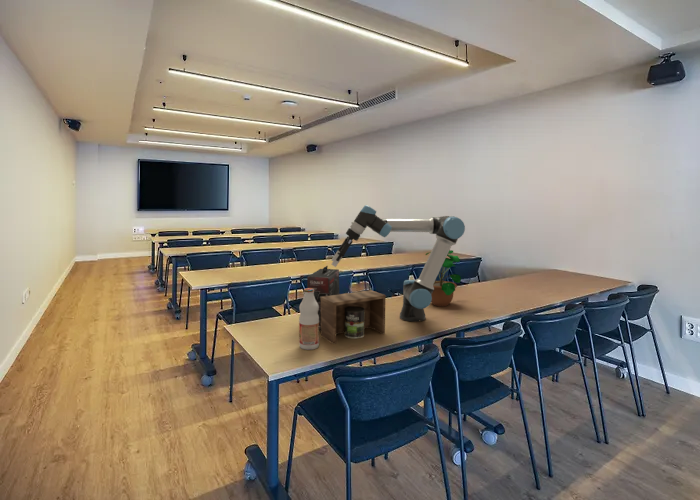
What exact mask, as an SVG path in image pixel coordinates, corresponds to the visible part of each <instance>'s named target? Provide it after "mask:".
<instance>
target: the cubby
mask: <svg viewBox="0 0 700 500" xmlns="http://www.w3.org/2000/svg"><path fill="white" fill-rule="evenodd" d="M350 306H358V307H362V308H364V309H365V311H364V329H368V328H370V329H372V330H374V331H377V332H378V333H380V334H382V335H383V334H385V333H386V294H384V293H380V292H377V291H374V290H372V289H370V290H362V291H354V292H347V293H339V294H338V295H331V296H323V297H321V331H320V336H321V337H322V338H323V339H325V340H327V341H328V342H330V343H331V344H333V345H334V344H337V333H338V334H342V333H345V308H346V307H350Z"/></svg>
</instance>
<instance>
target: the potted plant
mask: <svg viewBox="0 0 700 500" xmlns="http://www.w3.org/2000/svg"><path fill="white" fill-rule="evenodd" d="M430 253H431V251H429V252H427V253H425V256H427V255H428V254H429V255H430ZM453 253H454V250H451V249H450V250H449V252H448V254H447V256H446V259H445V261H444V263H443V265H442V267H441V270H440V271H439V274H438V277H439V280H435V282H434V284H433V287H434V290H433V293H432V295H431V296H432V300H431V304H432V305H434V306H435V307H436V306H437V307H447V306H448V305H450V304H451V303H452V301H453V298H454V292H455V291H456V288H457V287H458V285H457V284H459V283H461V282H462V277H461V275H459V274H456V273H453V274H450V275H449V274H448V275H447V276H445V275H446V273H447V272H448V271H449V269H450V268H452V267H454V268H455V267H456V265H455V264H454V263H459V262H460V261H461V258H460V257H459V256H458V255H453ZM444 277H445V278H444ZM447 277H449V278H450V279H451V280H452V281H453V282H452V281H446V280H445V279H447Z"/></svg>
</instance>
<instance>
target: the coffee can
mask: <svg viewBox="0 0 700 500" xmlns="http://www.w3.org/2000/svg"><path fill="white" fill-rule="evenodd" d="M364 311H365V309H364V308H362V307H358V306H350V307H346V308H345V332H344V337H346V338H347V339H360V338H361V339H362V338H364V336H365V328H364Z"/></svg>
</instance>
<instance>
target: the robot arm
mask: <svg viewBox="0 0 700 500" xmlns="http://www.w3.org/2000/svg"><path fill="white" fill-rule="evenodd" d="M361 208H362V209H360V211H359V213H358V214H357V216H356V217H355V219H354V221H352V222H351V225H350V226H349V227H350V228H348V229H347V231H346V232H345V235H347V236H346V237H345V239H344V241H343V242H342V244H341V245H340V246H339V247H338V250H337V251H336V252H335V254H334V255H333V257H332V259H331V261H332V262H331V265H332V266H333V267H335V268H337V266H338V264H339V263H340V262H341V260H342V258H343V257H345V254H346V253H347V252H348V250H349V248H350V246H351V245H352V244H353V240H354V241H355V242H357V241H358V240H359V238H361V235H363V233H364V232H365V230H366V228H367V227H368V228H370V229H371V230H372V231H373V232H375V233H377V234H378V235H379V236H381V237H383V238H386V237H388V236H389V234H390V233H429V234H431V235H435V238H436V241H435V242H434V245H433V247H432V248H431V251H430V252H431V253H429V255H428V257H427V258H428V259H427V260H426V261H425V264H424V266H423V268H422V270H421V272H420V275H419V277H418V278H417V279H405V280H404V281H403V285H402V286H403V287H402V288H403V289H402V290H403V292H402V293H403V294H402V297H403V299H402V307H401V310H400V312H399V319H401V320H402V321H405V322H416V323H417V322H422V321H425V320H426V313H425V309H426V308H428V307H429V306H430V305H431V304H432V302H431V300H432V296H431V295H432V293H433V290H434V287H433V284H434V282H435V281H437V277H438V276H439V274H440V271H441V270H442V267H443V266H442V265H443V263H444V261H445V259H446V258H447V257H448V256H447V254H448V252H449V250H451V248H452V246H454V245H456V244H457V242H458V239H460V238H461V237H463V235H464V233H465V230H466V225H465V222H464V221H463V220H462V219H461V218H459V217H457V216H452V215H451V216H449V215H444V216H437V217H433V216H431V217H430V218H381V217H378V216H377V210H375V209H374V208H373V207H371V206H369V205H367V204H365V205H364V206H363V207H361ZM448 255H449V254H448Z"/></svg>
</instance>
